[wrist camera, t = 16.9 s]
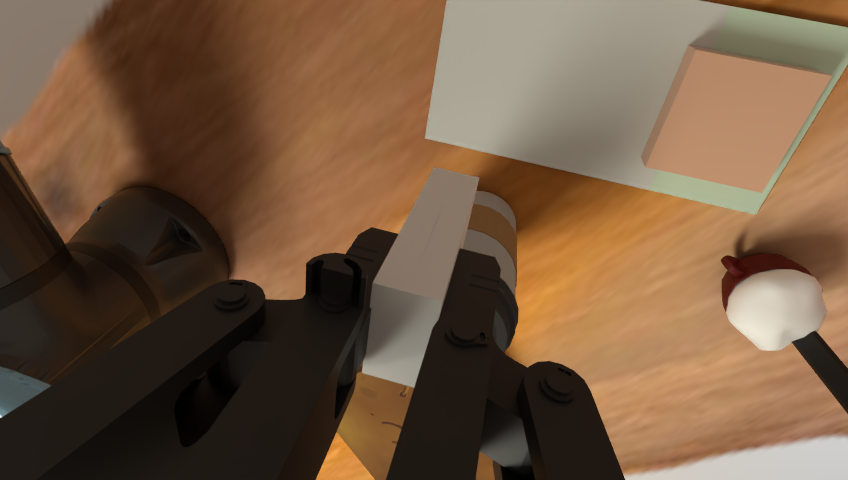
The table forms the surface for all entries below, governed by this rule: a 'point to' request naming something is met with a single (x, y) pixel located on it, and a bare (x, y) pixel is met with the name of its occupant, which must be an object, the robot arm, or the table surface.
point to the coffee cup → (497, 257)
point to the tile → (731, 117)
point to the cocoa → (782, 312)
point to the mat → (602, 80)
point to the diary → (383, 424)
